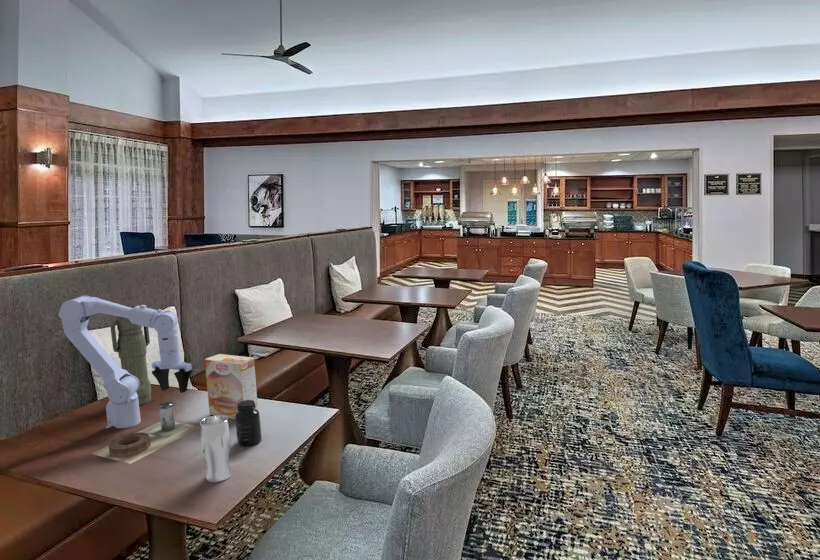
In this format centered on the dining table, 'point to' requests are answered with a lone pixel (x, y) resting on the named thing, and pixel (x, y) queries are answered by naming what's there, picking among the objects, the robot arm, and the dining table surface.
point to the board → (153, 442)
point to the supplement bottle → (248, 424)
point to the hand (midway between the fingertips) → (174, 390)
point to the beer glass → (216, 447)
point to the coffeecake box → (229, 383)
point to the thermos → (133, 353)
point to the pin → (167, 416)
